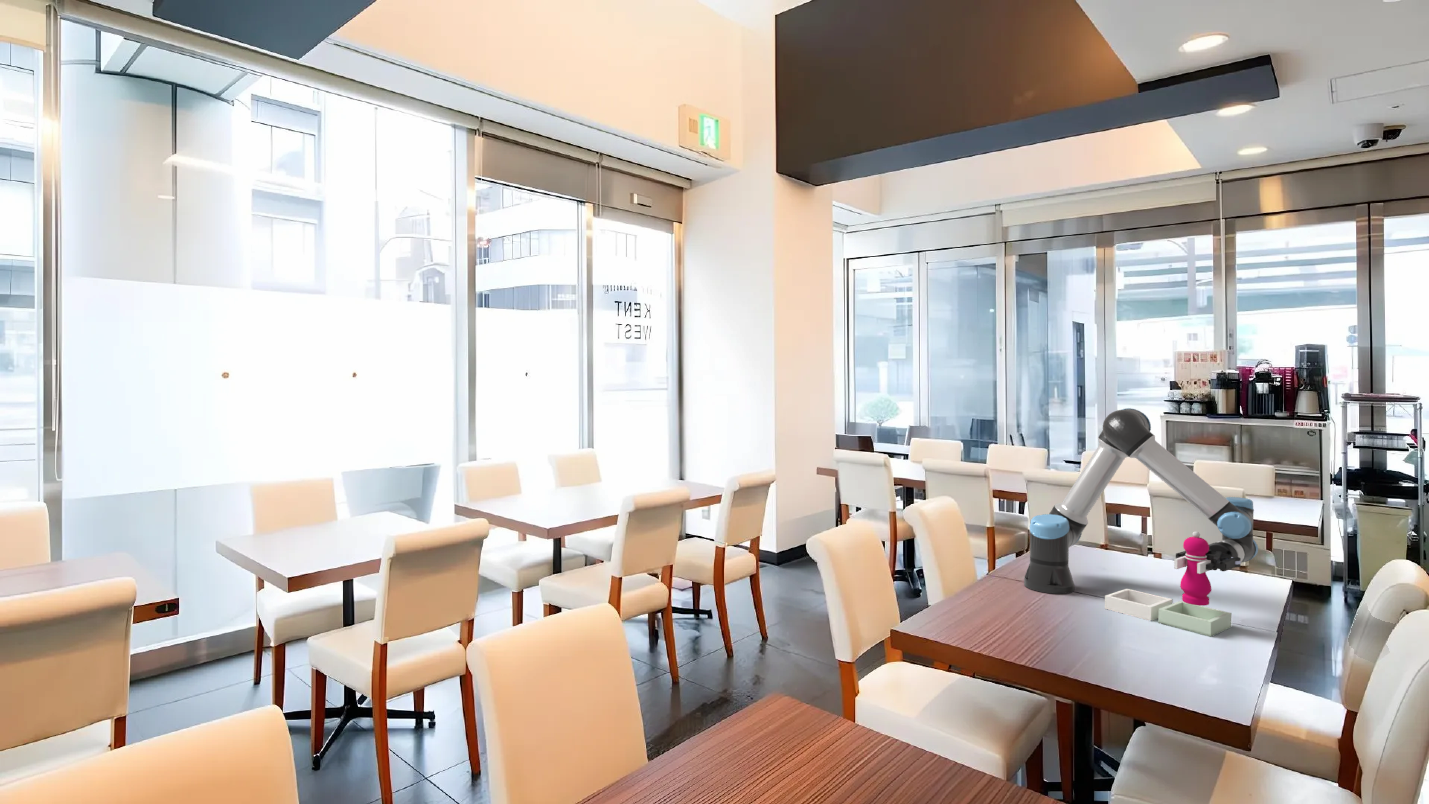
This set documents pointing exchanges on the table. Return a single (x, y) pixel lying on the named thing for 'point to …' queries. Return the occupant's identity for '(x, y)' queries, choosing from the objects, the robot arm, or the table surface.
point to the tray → (1195, 618)
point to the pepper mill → (1195, 572)
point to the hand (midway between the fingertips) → (1187, 566)
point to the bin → (1136, 603)
